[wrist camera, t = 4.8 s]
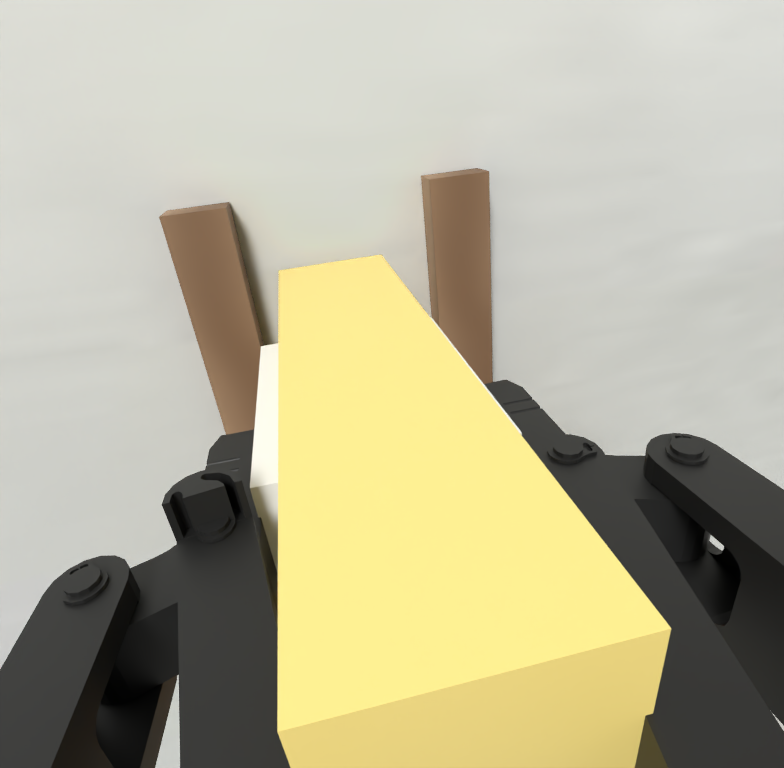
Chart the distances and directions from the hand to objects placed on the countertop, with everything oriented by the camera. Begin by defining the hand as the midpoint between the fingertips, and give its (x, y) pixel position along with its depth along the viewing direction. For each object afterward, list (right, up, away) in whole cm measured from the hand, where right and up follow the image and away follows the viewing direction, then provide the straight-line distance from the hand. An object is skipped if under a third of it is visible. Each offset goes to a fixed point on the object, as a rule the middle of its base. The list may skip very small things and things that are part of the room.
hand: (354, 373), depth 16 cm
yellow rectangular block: (-1, +2, +3) cm, 4 cm away
